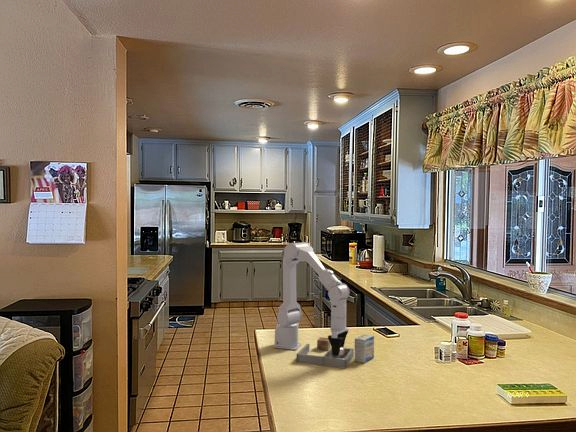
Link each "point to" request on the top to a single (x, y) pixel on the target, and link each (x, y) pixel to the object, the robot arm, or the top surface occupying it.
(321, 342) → the block
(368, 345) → the medicine box
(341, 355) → the silver metal cylinder
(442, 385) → the top surface
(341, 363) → the housing
